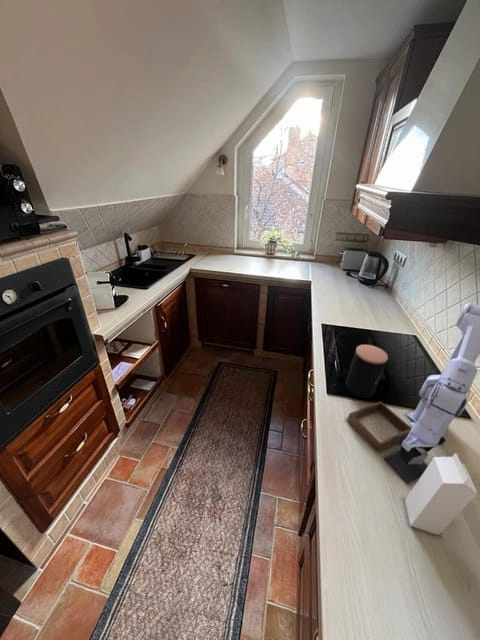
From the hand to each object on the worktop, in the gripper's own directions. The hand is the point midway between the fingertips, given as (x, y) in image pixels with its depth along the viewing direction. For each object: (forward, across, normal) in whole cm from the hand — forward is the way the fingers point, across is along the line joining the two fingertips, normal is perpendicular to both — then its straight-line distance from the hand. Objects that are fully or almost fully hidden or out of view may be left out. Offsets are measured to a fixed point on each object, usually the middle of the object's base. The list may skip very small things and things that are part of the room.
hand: (412, 455), depth 72 cm
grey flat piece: (+3, 0, 0) cm, 3 cm away
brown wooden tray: (+5, -2, -12) cm, 13 cm away
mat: (+5, 0, 0) cm, 5 cm away
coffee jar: (+5, -10, -28) cm, 31 cm away
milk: (+5, +9, +10) cm, 15 cm away
